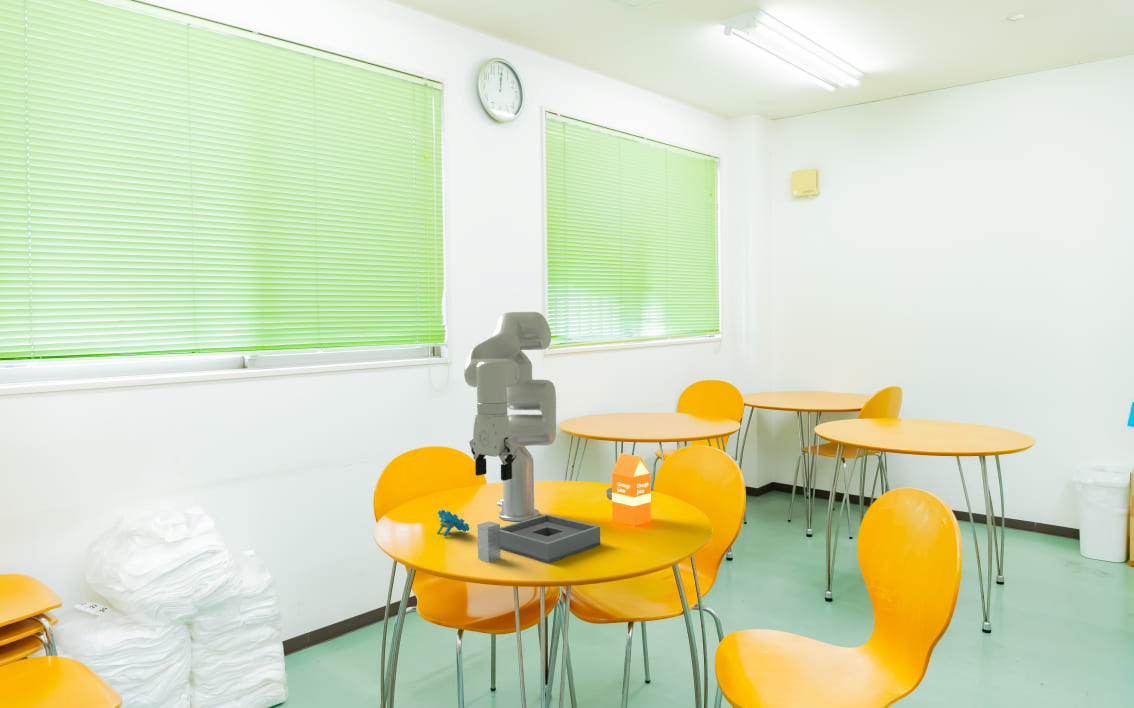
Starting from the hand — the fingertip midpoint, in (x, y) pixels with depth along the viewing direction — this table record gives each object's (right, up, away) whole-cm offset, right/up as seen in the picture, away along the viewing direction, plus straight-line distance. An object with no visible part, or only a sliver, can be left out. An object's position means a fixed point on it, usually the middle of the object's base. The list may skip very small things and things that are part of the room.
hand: (493, 477), depth 179 cm
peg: (-1, -21, +1) cm, 21 cm away
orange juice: (+38, -19, +34) cm, 54 cm away
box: (+13, -20, +10) cm, 26 cm away
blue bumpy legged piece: (-11, -21, +23) cm, 33 cm away
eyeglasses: (+39, -19, +63) cm, 76 cm away
